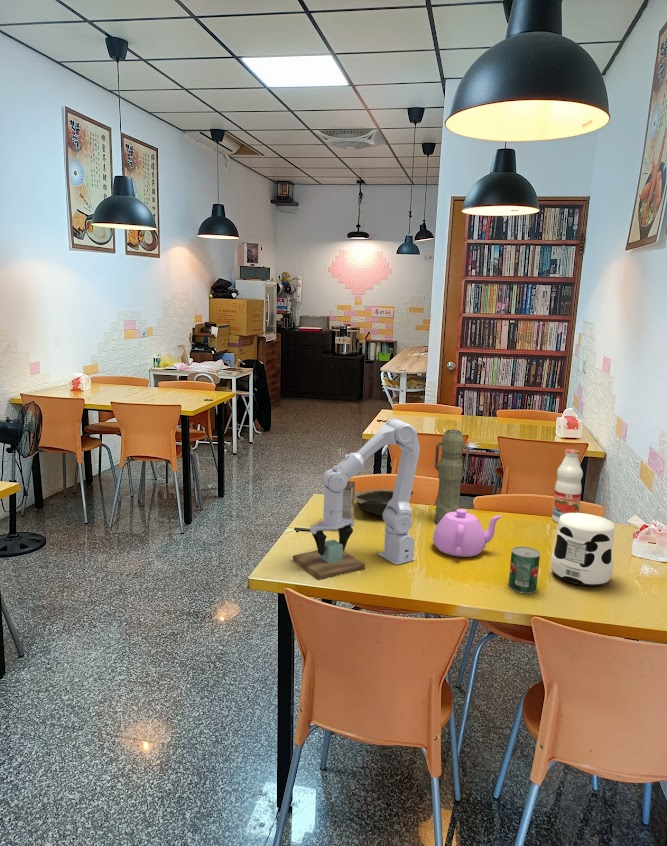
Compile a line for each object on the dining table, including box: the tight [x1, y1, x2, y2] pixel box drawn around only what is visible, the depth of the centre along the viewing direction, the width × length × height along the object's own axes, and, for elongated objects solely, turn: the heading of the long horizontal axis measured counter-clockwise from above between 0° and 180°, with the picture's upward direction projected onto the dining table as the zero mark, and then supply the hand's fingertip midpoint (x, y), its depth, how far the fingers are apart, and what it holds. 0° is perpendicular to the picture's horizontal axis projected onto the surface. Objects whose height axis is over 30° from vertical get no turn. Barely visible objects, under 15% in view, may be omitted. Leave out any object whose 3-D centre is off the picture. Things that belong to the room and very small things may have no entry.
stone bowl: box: [354, 488, 414, 521], centre depth 238 cm, size 25×25×9 cm
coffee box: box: [332, 480, 356, 532], centre depth 220 cm, size 9×6×16 cm
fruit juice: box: [551, 448, 584, 524], centre depth 234 cm, size 9×9×28 cm
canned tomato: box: [507, 546, 541, 594], centre depth 177 cm, size 8×8×11 cm
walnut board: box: [292, 549, 366, 581], centre depth 189 cm, size 16×16×2 cm
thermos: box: [434, 429, 470, 526], centre depth 226 cm, size 9×12×35 cm
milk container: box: [550, 512, 615, 587], centre depth 184 cm, size 17×17×18 cm
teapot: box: [432, 508, 504, 558], centre depth 202 cm, size 22×22×14 cm
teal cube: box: [320, 539, 343, 564], centre depth 189 cm, size 5×5×5 cm
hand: (331, 551), depth 189 cm, fingers open, 7 cm apart
